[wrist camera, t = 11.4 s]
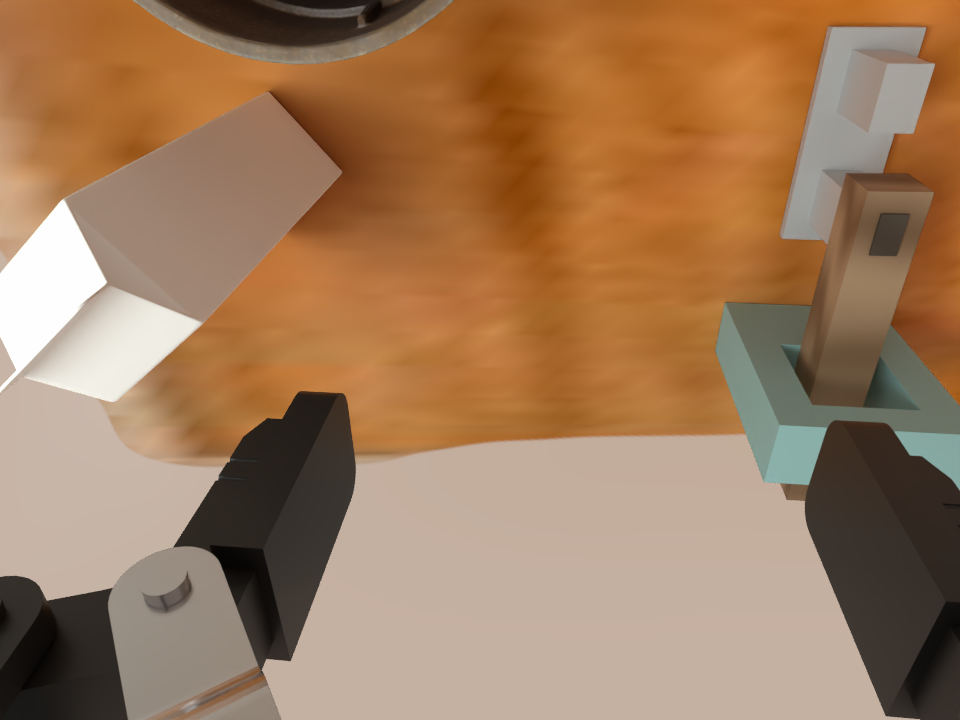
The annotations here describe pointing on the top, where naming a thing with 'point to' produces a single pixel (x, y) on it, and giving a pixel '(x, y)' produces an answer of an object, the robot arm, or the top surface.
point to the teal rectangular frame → (802, 426)
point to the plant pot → (296, 25)
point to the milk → (156, 249)
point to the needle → (859, 288)
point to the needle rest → (854, 117)
